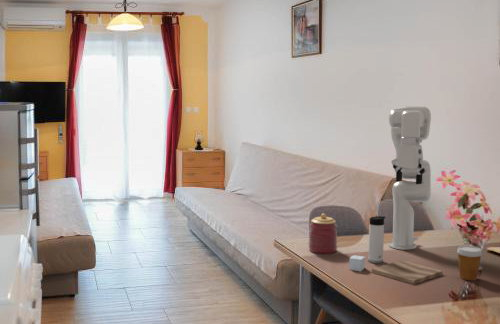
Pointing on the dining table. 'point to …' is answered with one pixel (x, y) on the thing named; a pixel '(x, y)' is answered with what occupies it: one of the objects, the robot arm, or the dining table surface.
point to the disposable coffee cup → (469, 262)
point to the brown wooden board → (407, 272)
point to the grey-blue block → (356, 263)
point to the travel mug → (376, 239)
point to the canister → (323, 235)
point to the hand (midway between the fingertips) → (408, 182)
